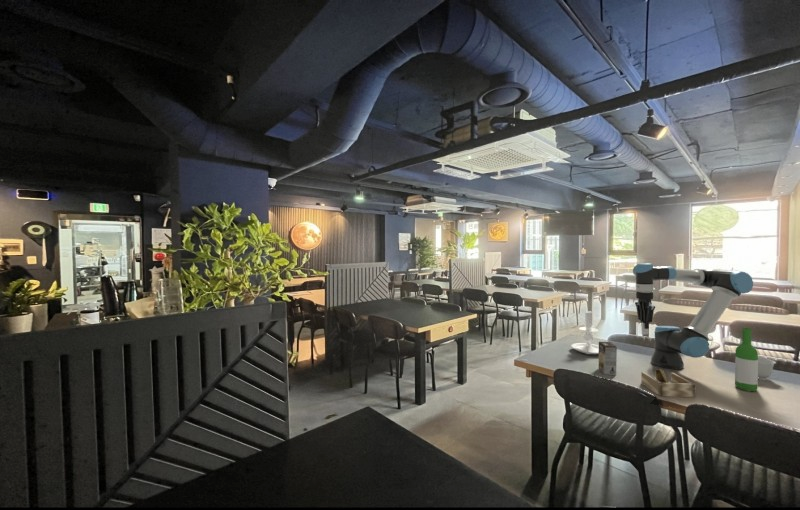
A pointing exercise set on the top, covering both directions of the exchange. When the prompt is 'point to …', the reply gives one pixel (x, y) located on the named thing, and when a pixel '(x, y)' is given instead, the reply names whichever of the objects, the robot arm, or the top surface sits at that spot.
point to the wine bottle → (746, 364)
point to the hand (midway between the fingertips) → (645, 334)
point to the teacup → (765, 367)
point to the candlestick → (587, 338)
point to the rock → (661, 376)
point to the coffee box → (607, 358)
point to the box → (669, 386)
